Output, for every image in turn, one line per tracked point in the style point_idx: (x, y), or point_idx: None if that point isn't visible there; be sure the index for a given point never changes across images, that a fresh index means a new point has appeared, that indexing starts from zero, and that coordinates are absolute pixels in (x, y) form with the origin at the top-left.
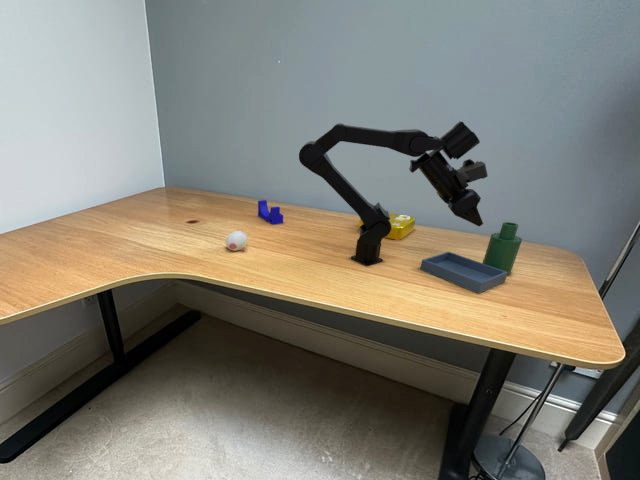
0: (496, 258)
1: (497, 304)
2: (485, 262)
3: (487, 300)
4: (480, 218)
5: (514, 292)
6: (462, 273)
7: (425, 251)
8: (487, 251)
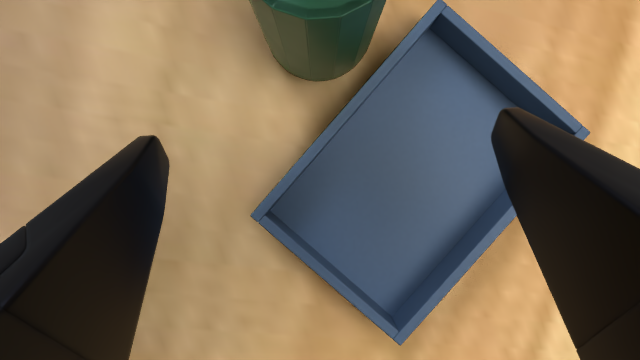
0: (376, 24)
1: (626, 88)
2: (337, 67)
3: (604, 116)
4: (577, 143)
5: (508, 5)
6: (408, 169)
7: (169, 286)
8: (325, 53)
